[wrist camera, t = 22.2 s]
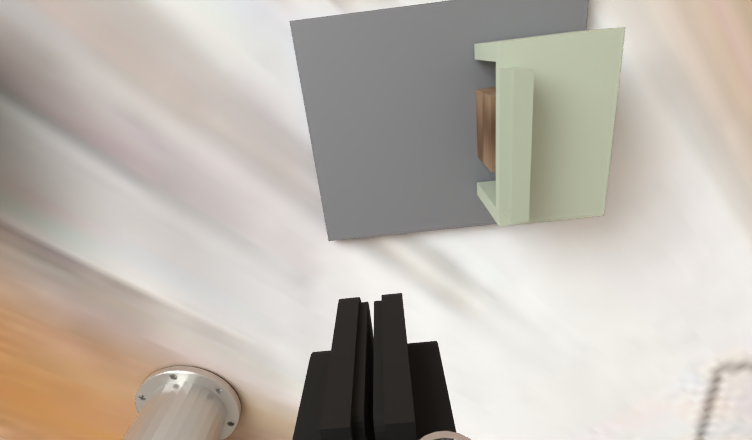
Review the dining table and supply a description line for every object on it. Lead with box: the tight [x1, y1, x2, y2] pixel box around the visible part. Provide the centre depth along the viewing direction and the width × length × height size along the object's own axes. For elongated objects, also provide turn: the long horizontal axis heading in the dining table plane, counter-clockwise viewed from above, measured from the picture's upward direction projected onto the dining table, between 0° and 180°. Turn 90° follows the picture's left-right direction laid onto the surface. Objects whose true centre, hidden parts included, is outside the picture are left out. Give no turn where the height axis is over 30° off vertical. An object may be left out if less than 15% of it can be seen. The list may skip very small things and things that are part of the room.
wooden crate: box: [476, 87, 496, 172], centre depth 34 cm, size 6×6×5 cm
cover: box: [474, 27, 625, 226], centre depth 31 cm, size 13×8×10 cm, turn 6°
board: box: [290, 0, 588, 241], centre depth 35 cm, size 20×24×5 cm
